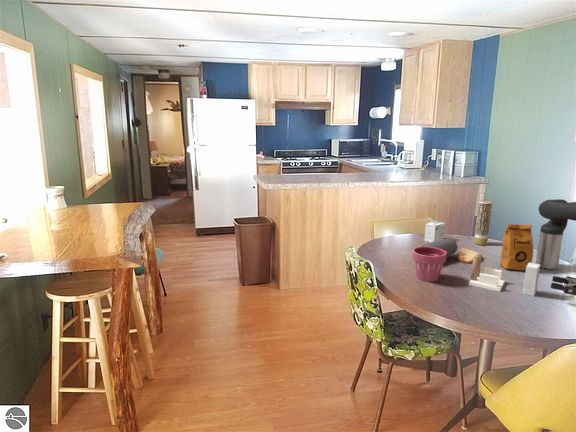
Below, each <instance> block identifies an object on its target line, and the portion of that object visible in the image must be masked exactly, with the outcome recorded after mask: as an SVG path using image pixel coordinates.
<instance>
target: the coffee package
mask: <svg viewBox="0 0 576 432" xmlns="http://www.w3.org/2000/svg"><path fill="white" fill-rule="evenodd" d="M532 228H533V225H532V224H518V223H516V224H515V223H514V224H513V223H508V224H507V225H506V228H505V232H504V235H503V240H502V245H501V246H502V247H501V254H500V262H499V264H500V266H501V267H503V269H506V270H514V271H516V270H517V271H524V272H526V266H527V265H528V263H533V258H534V255H533V254H534V243H533V241H534V240H533V233H532Z"/></svg>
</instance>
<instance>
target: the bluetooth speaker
mask: <svg viewBox="0 0 576 432" xmlns="http://www.w3.org/2000/svg"><path fill="white" fill-rule="evenodd" d="M420 247H435V248H439V249H442V250H444V251H445V252H446V253H447V256H446V258H448V257H449V256H452V255H453V254H455V253H457V251H458V244H457V242H456V240H454V239H453V238H443V240H438V241H434V242H427V243H426V244H423V245H421V246H420Z"/></svg>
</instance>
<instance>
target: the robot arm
mask: <svg viewBox="0 0 576 432" xmlns="http://www.w3.org/2000/svg"><path fill="white" fill-rule="evenodd" d="M538 214H540V216H541V217H542V218H544V219H546V220H548V221H547V222H546V223H544V224H542V225H541V227H540V229H539V231H540V233H539V239H538V245H537V246H538V247H537V250H536V258H535V264H540V267H541V268H540V269H544V268H546V269H545V270H550V269H554V270H557V269H558V268H559V267H558V266H559V262H560V257H561V250H562V243H563V237H564V232H565V230H566V228H567V226H568V225H567V224H568V222H569V220H571V221H575V222H576V201H571V202H568V201H567V200H565V199H547V200H544V201H542V202H541V203H540V204H539V206H538ZM556 268H557V269H556ZM550 288H551V289H554V290H558V291H562V292H563V293H564V294H565V295H570V296H571V295H572V296H576V277H571V276H570V275H569V276H566V277H560V276H556V275H554V276H552V282H551V284H550Z"/></svg>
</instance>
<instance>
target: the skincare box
mask: <svg viewBox="0 0 576 432" xmlns="http://www.w3.org/2000/svg"><path fill="white" fill-rule="evenodd" d="M540 269H541V268H540V264H536V263H534V262H532V263H528V265H527V266H526V271H525V274H524V280H523V288H522V294H523V295H528V296H532V297H534V296H535V295H536V292H537V290H538V285H539V284H538V283H539V276H540Z"/></svg>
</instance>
